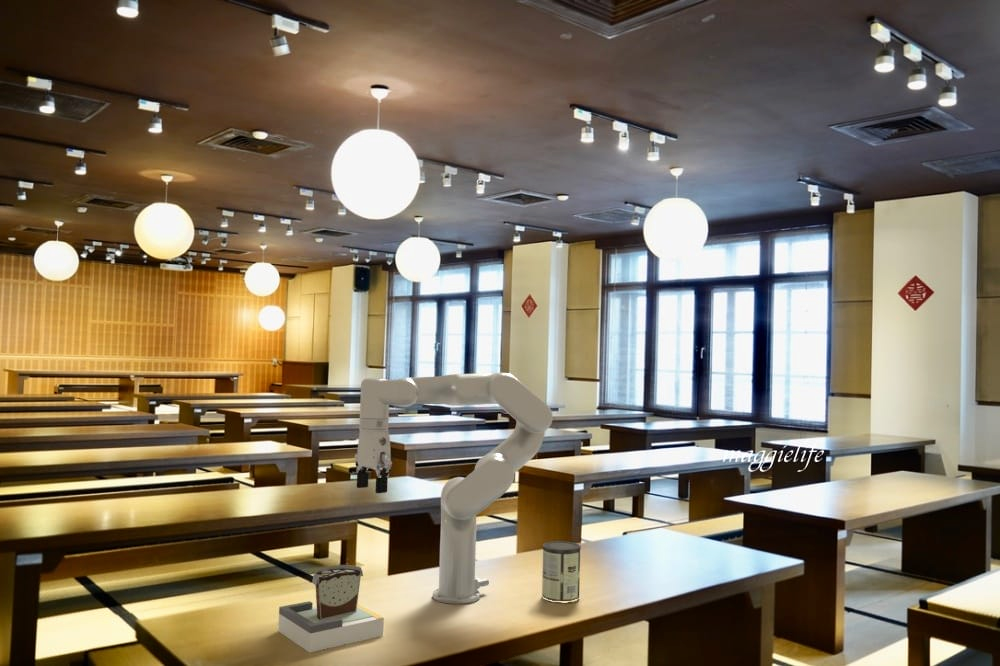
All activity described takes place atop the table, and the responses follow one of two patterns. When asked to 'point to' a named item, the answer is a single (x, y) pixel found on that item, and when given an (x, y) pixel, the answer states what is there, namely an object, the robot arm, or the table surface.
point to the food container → (337, 590)
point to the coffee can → (561, 571)
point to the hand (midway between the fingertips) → (371, 490)
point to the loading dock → (327, 626)
